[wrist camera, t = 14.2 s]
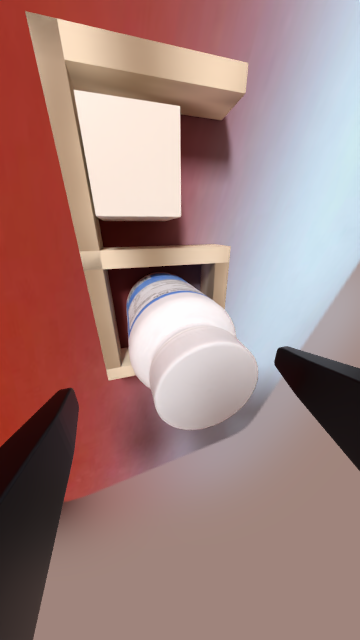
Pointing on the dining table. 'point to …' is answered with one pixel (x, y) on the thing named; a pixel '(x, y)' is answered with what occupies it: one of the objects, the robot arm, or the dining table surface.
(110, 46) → the caddy
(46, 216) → the dining table surface
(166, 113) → the cream block
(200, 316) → the pill bottle
